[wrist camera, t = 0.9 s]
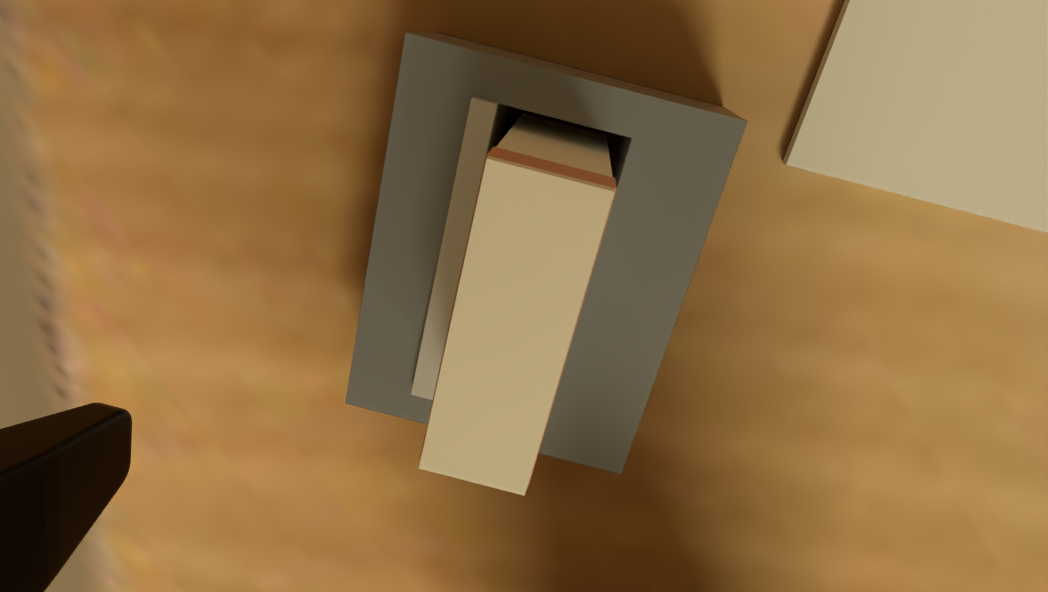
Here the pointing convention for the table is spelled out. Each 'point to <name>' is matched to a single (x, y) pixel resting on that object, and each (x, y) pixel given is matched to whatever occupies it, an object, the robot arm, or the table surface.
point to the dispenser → (623, 257)
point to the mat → (935, 105)
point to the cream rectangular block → (518, 301)
